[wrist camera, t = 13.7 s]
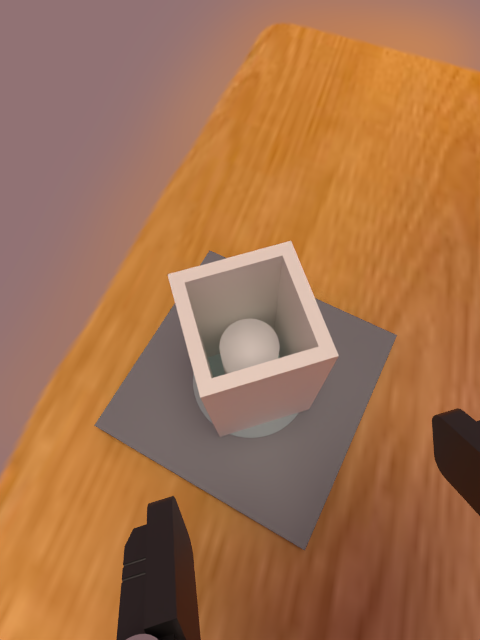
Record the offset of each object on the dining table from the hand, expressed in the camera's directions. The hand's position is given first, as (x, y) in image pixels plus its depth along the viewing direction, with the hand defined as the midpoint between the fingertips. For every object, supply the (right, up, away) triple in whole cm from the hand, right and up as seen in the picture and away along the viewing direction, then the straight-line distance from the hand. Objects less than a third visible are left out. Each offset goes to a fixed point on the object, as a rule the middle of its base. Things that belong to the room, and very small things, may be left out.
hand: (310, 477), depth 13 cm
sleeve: (-1, +1, +14) cm, 14 cm away
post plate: (-1, +1, +15) cm, 15 cm away
